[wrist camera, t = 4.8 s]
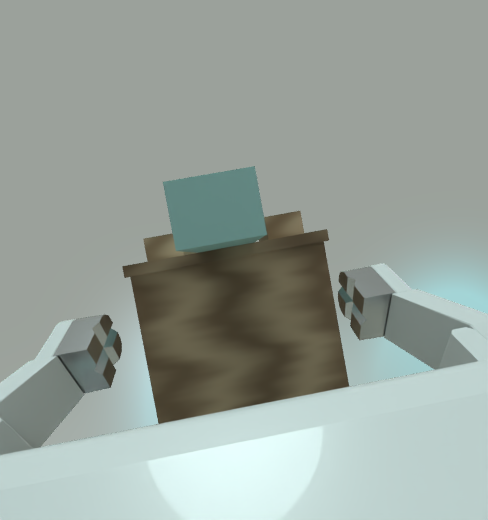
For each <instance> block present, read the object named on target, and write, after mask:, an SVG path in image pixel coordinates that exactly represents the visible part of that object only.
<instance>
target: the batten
mask: <svg viewBox="0 0 488 520" xmlns="http://www.w3.org/2000/svg"><path fill="white" fill-rule="evenodd" d="M163 185H164V190H165V195H166V201H167V206H168V211H169V217H170V222H171V227H172V233H173V238H174V243H175V249H176V251H182V252H195V253H199V252H205V251H210V250H216V249H221V248H227V247H232V246H238V245H243V244H249V243H254V242H256V241H257V240H259V239H261V238H262V237H264V236H265V235H267V232H266V226H265V221H264V215H263V210H262V204H261V199H260V193H259V188H258V182H257V176H256V171H255V166H253V167H248V168H242V169H236V170H230V171H225V172H218V173H213V174H208V175H201V176H195V177H189V178H184V179H178V180H172V181H166V182H163Z"/></svg>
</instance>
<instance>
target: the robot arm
mask: <svg viewBox="0 0 488 520" xmlns="http://www.w3.org/2000/svg"><path fill="white" fill-rule="evenodd" d="M339 283H340V284H341V285H342V287H341V289H340V290H339V291H338V301H339V306H340V309H341V311H342V313H343V315H344V316H345V317H346V318H348V319H350V320H351V325H350V326H351V328H352V329H353V331H354V333H355V334H356V336H357V337H358V339H359V340H364V339H371V338H376V337H383V336H384V338H386V339H388V340H389V341H391V342H392V343H394V344H395V345H397V346H398V347H400V348H402V349H403V350H405V351H406V352H408V353H410V354H411V355H413V356H414V357H416V358H417V359H419V360H421V361H422V362H424V363H425V364H427V365H428V366H430V367H431V368H433V369H435V370H431V371H426V372H422V373H416V374H411V375H406V376H401V377H395V378H391V379H385V380H380V381H375V382H370V383H365V384H360V385H355V386H349V387H344V388H339V389H334V390H329V391H324V392H319V393H314V394H309V395H304V396H298V397H293V398H288V399H283V400H278V401H273V402H268V403H263V404H258V405H253V406H247V407H242V408H237V409H232V410H227V411H222V412H217V413H212V414H207V415H202V416H196V417H191V418H186V419H181V420H176V421H171V422H166V423H161V424H156V425H151V426H146V427H141V428H135V429H130V430H126V431H120V432H115V433H110V434H105V435H100V436H95V437H89V438H84V439H79V440H75V441H69V442H64V443H59V444H54V445H49V446H43V447H41V446H42V445H43V443H44V442H45V441H46V440H47V439H48V437H49V436H50V435H51V434H52V433H53V432H54V430H55V429H56V428H57V427H58V426H59V424H60V423H61V422H62V421H63V420H64V418H65V417H66V416H67V415H68V414H69V413H70V411H71V410H72V409H73V408H74V407H75V405H76V404H77V403H78V402H79V400H80V399H81V398H82V397H83V396H84V393H89V392H93V391H98V390H102V389H107V388H110V387H111V385H112V382H113V378H114V375H115V372H116V369H115V368H114V366H113V365H114V364H115V363H116V362H117V361H118V360H119V359H120V356H121V352H122V343H121V339H120V337H119V334H118V332H116V331H115V330H113V329H111V326H112V323H113V322H112V321H111V319H110V317H109V316H108V315H99V316H92V317H86V318H80V319H76V320H68V321H62V322H60V323H58V324H57V325H56V327H55V328H54V330H53V332H52V333H51V335H50V337H49V338H48V340H47V341H46V343H45V344H44V346H43V347H42V349H41V351H40V352H39V354H38V355H37V357H36V359H35V360H32V361H29V362H28V363H26V364H25V365H24V366H22V367H21V368H20V369H18V370H17V371H16V372H14V373H13V374H12V375H10V376H9V377H8V378H6V379H5V380H4V381H2V382H1V383H0V520H488V314H486V313H483V312H480V311H478V310H475V309H472V308H469V307H466V306H463V305H461V304H458V303H455V302H452V301H449V300H446V299H444V298H441V297H438V296H435V295H432V294H429V293H427V292H424V291H421V290H418V289H415V290H412V289H411V288H410V287H409V286H408V285H407V284H406V283H405V282H404V281H403V280H401V278H400V277H398V276H397V275H396V274H395V273H394V272H393V271H392V270H391V269H390V268H389V267H388V266H387V265H386V264H383V263H382V264H377V265H373V266H368V267H365V268H360V269H354V270H348V271H343V272H341V273H340V275H339Z"/></svg>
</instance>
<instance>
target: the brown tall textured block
mask: <svg viewBox="0 0 488 520" xmlns="http://www.w3.org/2000/svg"><path fill="white" fill-rule="evenodd" d="M264 221H265V226H266V232H267V235H265V236H264V237H262V238H261V239H259V242H254V243H249V244H243V245H238V246H232V247H227V248H221V249H216V250H210V251H205V252H199V253H195V252H182V251H176V249H175V243H174V238H173V234H167V235H162V236H156V237H151V238H145V239H144V244H145V250H146V255H147V260H148V262H144V263H139V264H133V265H128V266H123V272H124V277H125V278H126V277H131V282H132V287H133V292H134V298H135V303H136V308H137V313H138V318H139V324H140V329H141V334H142V339H143V345H144V349H145V355H146V360H147V365H148V370H149V375H150V381H151V386H152V391H153V397H154V401H155V407H156V412H157V418H158V423H159V424H161V423H166V422H171V421H176V420H181V419H186V418H191V417H196V416H202V415H207V414H212V413H217V412H222V411H227V410H232V409H237V408H242V407H247V406H253V405H258V404H263V403H268V402H273V401H278V400H283V399H288V398H293V397H298V396H304V395H309V394H314V393H319V392H324V391H329V390H334V389H339V388H344V387H349V383H348V377H347V372H346V366H345V360H344V356H343V349H342V343H341V338H340V332H339V326H338V321H337V315H336V309H335V304H334V298H333V292H332V287H331V281H330V275H329V270H328V264H327V258H326V253H325V247H324V241H328V240H329V238H328V232H327V229H326V230H321V231H315V232H309V233H304V229H303V224H302V218H301V213H300V211H297V212H291V213H286V214H280V215H274V216H269V217H264Z"/></svg>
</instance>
